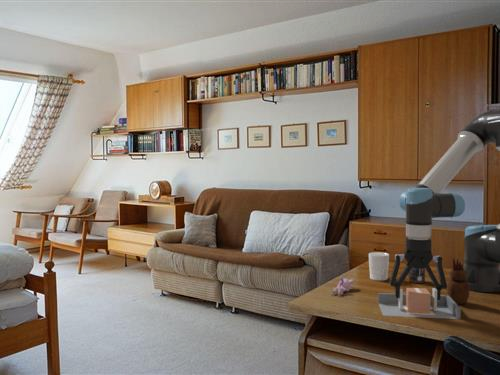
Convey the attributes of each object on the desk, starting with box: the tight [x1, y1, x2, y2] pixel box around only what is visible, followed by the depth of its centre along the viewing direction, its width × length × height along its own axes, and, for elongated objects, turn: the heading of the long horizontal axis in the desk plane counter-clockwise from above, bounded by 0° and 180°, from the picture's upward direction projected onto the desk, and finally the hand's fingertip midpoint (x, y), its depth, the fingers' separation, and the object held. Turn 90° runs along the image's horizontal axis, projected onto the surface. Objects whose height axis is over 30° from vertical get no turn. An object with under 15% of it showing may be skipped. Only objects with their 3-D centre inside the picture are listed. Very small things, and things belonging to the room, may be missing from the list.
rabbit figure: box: [330, 277, 354, 297], centre depth 161 cm, size 6×6×15 cm
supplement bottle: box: [408, 267, 426, 284], centre depth 174 cm, size 6×6×11 cm
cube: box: [405, 287, 431, 313], centre depth 140 cm, size 6×6×6 cm
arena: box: [377, 292, 462, 320], centre depth 139 cm, size 22×13×4 cm, turn 80°
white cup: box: [368, 251, 390, 282], centre depth 179 cm, size 8×8×10 cm
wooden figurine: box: [446, 257, 471, 305], centre depth 147 cm, size 7×6×15 cm
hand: (417, 309), depth 139 cm, fingers open, 9 cm apart
